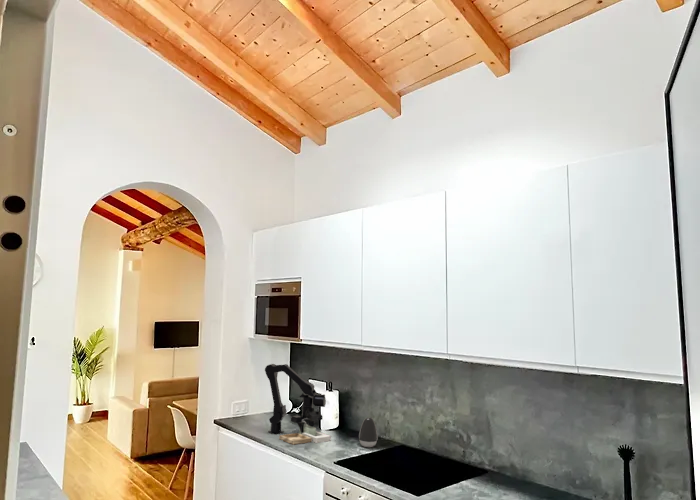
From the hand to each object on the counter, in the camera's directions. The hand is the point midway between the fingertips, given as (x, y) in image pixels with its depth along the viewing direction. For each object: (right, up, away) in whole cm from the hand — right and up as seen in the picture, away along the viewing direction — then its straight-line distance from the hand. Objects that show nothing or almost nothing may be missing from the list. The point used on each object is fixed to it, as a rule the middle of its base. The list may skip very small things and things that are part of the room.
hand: (306, 433), depth 296 cm
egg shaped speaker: (+35, -1, -18) cm, 39 cm away
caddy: (0, -1, 0) cm, 1 cm away
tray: (-5, +1, -13) cm, 14 cm away
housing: (+6, -1, -7) cm, 9 cm away
